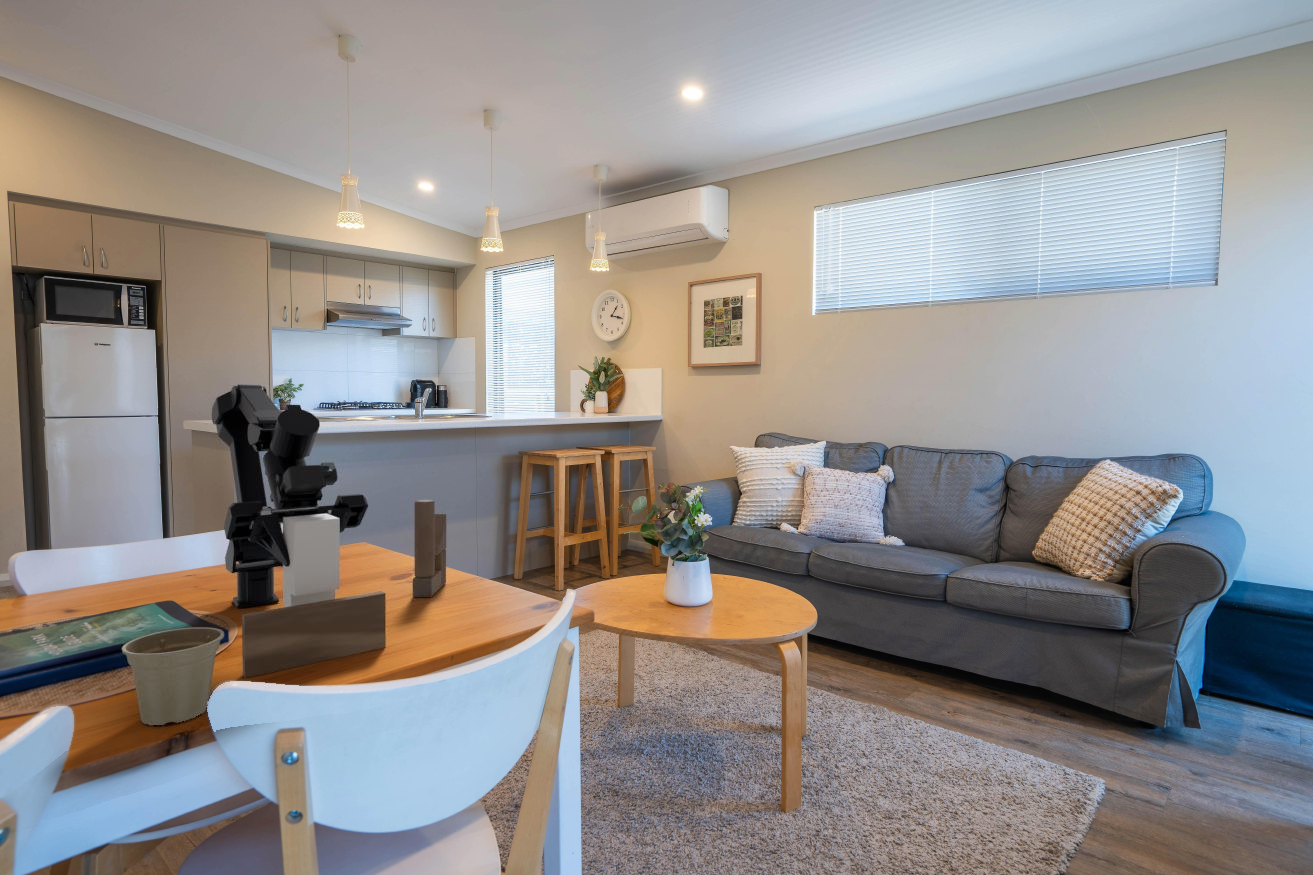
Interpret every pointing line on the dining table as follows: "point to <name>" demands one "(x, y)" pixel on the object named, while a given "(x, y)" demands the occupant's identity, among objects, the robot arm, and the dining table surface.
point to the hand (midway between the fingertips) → (311, 561)
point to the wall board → (312, 632)
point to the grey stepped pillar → (429, 549)
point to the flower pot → (173, 672)
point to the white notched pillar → (311, 558)
